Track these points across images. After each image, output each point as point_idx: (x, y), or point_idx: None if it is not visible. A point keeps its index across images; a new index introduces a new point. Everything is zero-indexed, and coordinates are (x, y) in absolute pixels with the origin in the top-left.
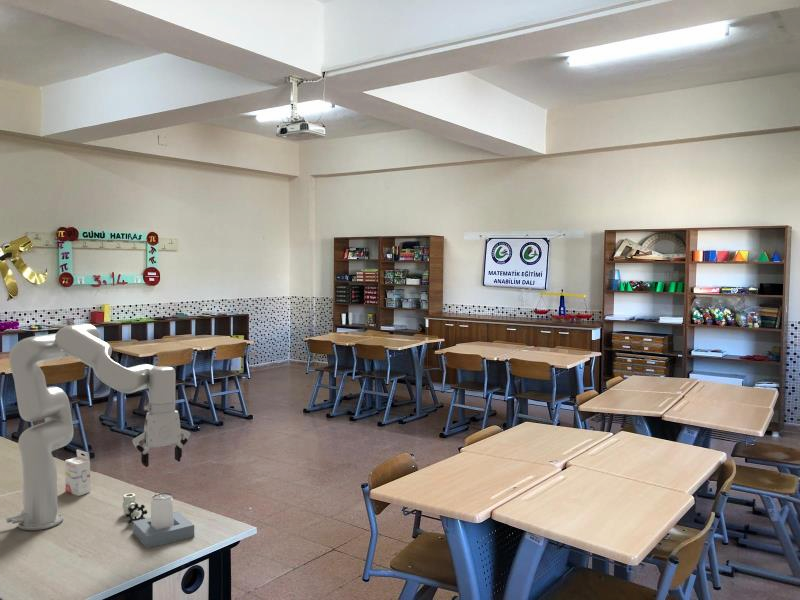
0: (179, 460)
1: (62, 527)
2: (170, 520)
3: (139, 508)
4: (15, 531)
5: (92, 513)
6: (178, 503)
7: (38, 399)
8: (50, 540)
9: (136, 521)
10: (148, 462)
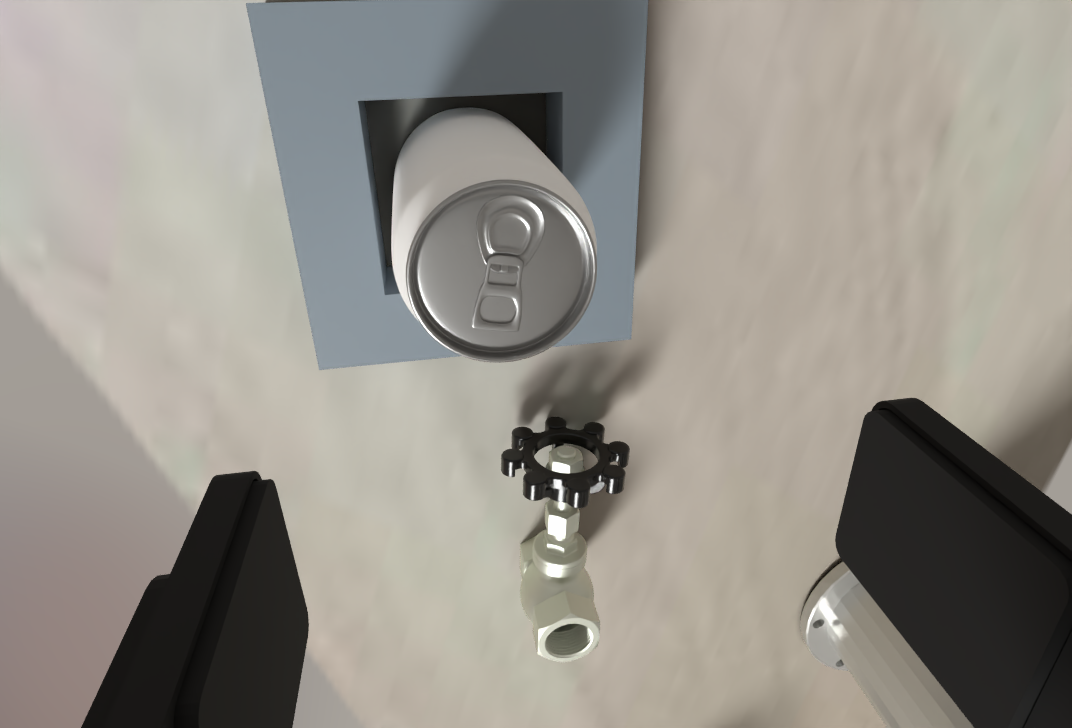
0: (234, 476)
1: None
2: (432, 136)
3: (556, 473)
4: None
5: (683, 621)
6: None
7: None
8: (940, 411)
9: (613, 325)
10: (917, 448)
